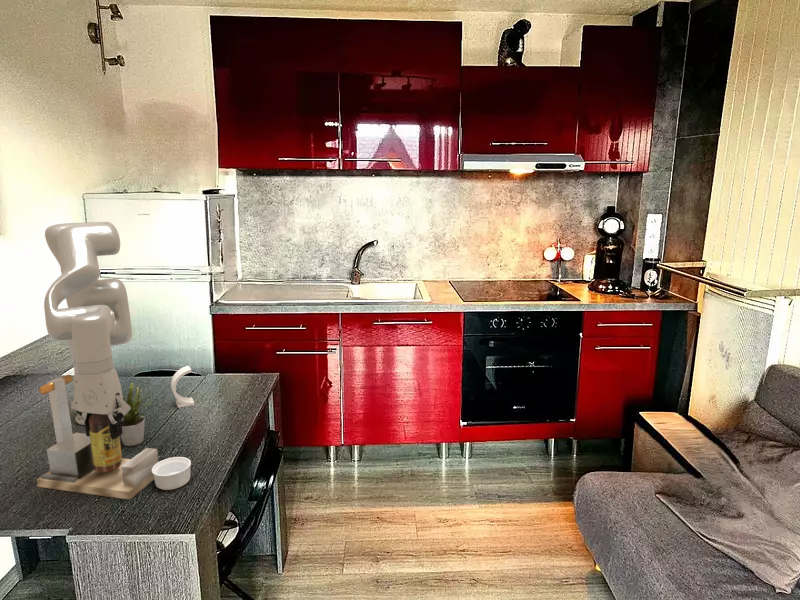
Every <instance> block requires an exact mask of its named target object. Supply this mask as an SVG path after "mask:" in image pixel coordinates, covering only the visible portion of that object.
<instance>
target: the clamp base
mask: <svg viewBox="0 0 800 600" xmlns="http://www.w3.org/2000/svg"><path fill="white" fill-rule="evenodd" d="M121 460H122V462H121V465H120V467H119V468H117V469H115V470H113V471H110V472H105V473H101V472H96V471H95V469H93V470H92V471H90V472H89V473H87V474H86V475H85V476H83V477H82V478H80V479H79V478H75V477H68V476H60V475H53V474H51V472H50V470H48V471H47V472H45V473H43V474H41V475H40V476H39V477H38V478H36V485H37V487H38V488H45V489H51V490H52V489H53V490H59V491H66V492H71V493H72V492H73V493H79V494H80V493H81V494H88V495H96V496H100V497H101V496H102V497H108V498H117V499H122V500H131V499H132V498H135V496H136V495H138V493H140V492H141V491H142V490H143V489H145V488H146V487H147V486H149V484H151V483H152V482H153V481H155V480H154V476H153V474H152V468H153V466H154V465H155V464H156V463H158V462H160V461H159V454H158V448H151V447H150V448H149V447H145V448H144V449H143V450H141V451H140V452H139V453H137V454H136V455H135V456H134V457H131V459H130V458H124V457H122V459H121Z"/></svg>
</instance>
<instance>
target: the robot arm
mask: <svg viewBox="0 0 800 600" xmlns="http://www.w3.org/2000/svg"><path fill="white" fill-rule="evenodd" d="M118 231H119V230H117V228H116V226H115V225H114V224H113V223H112V222H110V221H93V222H91V221H89V222H66V223H58V224H52V225H50V226H48V227H46V229H45V231H44V238H45V241H46V245H47V246H48V248H49V250H50V251H51V253H52V254H53V256H54V258H55V259H56V261H57V263H58V265H59V266H60V273H61V275H59V277H57V279H55V281H54V282H53V283H52V284H51V285H50V286H49V288H48V290H47V291H46V294H45V297H44V301H43V309H44V318H45V326H46V330H47V333H48V335H49V337H50V338H52V339H53V340H55V341H66V342H67V344H68V348H69V351H70V354H71V359H72V365H73V369H74V374H73V381H72V382H73V384H72V385H73V399H74V400H72V401H71V405H70V406H71V407H70V409H71V410H72V411H76V413H77V414H76V415H75V422H76V423H77V424H79V425H80V426H81V425H82V426H84V428H85V429H84V430H85V434H86V436H90V432H89V429H90V427H89V418H90V416H91V414H101V415H108V417H109V419H110V421H111V424H110V425H109V426H110V434H111V439H116V438H117V437H119V436H120V437H121V435H122V433H123V431H122V424H121V420H122V419H123V417H124V416H125V415H126V414H127V413H128V412H129V411H130V409H131V407H130V406H129V405H128V404H127V403H128V402H127V403H126V402H125V401H124V400H123V397H124V396H123V391H122V385H121V381H120V379H119V375H118V372H117V369H116V368H114V360H113V353H112V352H113V351H112V346H113V347H115V346H120V345H126V344H128V343H129V342H131V340H132V337H133V330H132V329H133V328H132V321H131V319H132V318H131V314H130V313H131V312H130V306H129V305H130V304H129V299H128V297H129V296H128V293H127V289H126V286H125V284H124V282H123V281H121V279H119V278H118V279H117V278H104V279H99V278H100V276H101V271H100V266H99V261H98V257H102V256H114V255H115V256H116V255H117V254H119V252H120V249H121V238H120V234H119V232H118ZM65 300H66V305H67V307H65V308H59V305H60V304H61V303H62V302H63V301H65ZM120 410H121V411H120ZM113 412H115V416H114V414H113Z"/></svg>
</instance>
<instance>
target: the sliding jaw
mask: <svg viewBox="0 0 800 600" xmlns="http://www.w3.org/2000/svg"><path fill="white" fill-rule="evenodd" d="M72 382H74V377H73V376H72V375H71V374H66V375H64V376H61V377H55V378H54V379H52V380H49V381H47V382H46V383H45V384H44V385H42V386H39V388H38V392H39V393H40V394H41V395H42V396H43V395H47V394H48V397H49V403H50V409H51V410H50V411H51V417H52V422H53V429H54V434H55V440H56V444H53V445H52V446H50V447H49V448H47V449H46V452H47V458H48V459H47V461H48V466H49V471H50V472H51V474H53V475H60V476H68V477H75V478H79V479H80V478H82V477H83V476H85V475H86V474H87V473H89V472H90V471H92V470H93V469H94V464H93V459H92V450H91V441H90V436H86V433H82V432H74V433H73V429H72V428H73V427H72V421H71V414H70V413H71V412H70V408H69V402H68V401H69V400H68V395H67V388H66V385H68V384H70V383H72Z"/></svg>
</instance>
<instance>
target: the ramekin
mask: <svg viewBox="0 0 800 600" xmlns="http://www.w3.org/2000/svg"><path fill="white" fill-rule="evenodd" d="M191 465H192V461H191V459H189V458H187V457H184V456H173V457H167V458H165V459H163V460H160V461H159V462H158V463H156V464H155V465H154V466H153V468H152V474H153V476H154V480H153V481H154V485H155V486H156V487H157V488H158V489H161V490H162V491H163V490H165V491H171V490H175V489H178V488H181V487H183V486H184V485H186V484H188V482H189V481H190V479H191Z"/></svg>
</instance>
